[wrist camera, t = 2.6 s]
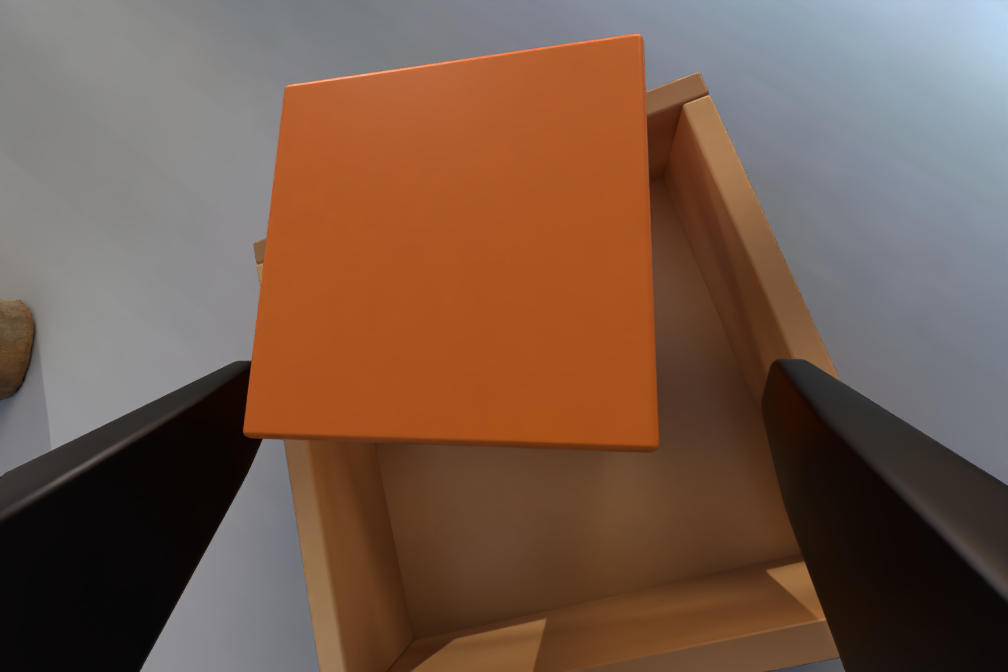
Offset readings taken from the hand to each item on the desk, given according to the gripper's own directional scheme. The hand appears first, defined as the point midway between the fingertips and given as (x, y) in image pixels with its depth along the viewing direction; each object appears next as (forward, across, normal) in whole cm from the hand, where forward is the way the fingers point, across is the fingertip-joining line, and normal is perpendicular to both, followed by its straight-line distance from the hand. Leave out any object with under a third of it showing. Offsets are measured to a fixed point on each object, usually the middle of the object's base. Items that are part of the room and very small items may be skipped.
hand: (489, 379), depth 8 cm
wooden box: (+6, 0, +6) cm, 9 cm away
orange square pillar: (+7, 0, +5) cm, 8 cm away
